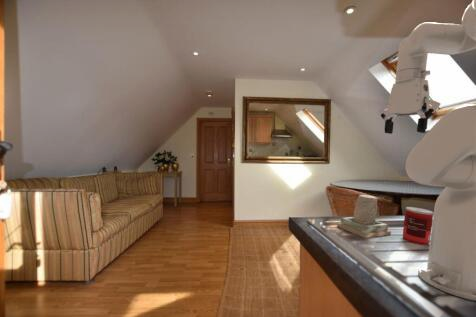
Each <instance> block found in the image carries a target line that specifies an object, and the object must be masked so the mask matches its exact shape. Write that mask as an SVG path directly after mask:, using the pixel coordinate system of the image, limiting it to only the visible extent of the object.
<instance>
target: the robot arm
mask: <svg viewBox="0 0 476 317" xmlns="http://www.w3.org/2000/svg"><path fill="white" fill-rule="evenodd" d="M473 50H476V0H472V2H471V3H470V4H469V5H468V6H467V8H465V10H464V12H463V14H462V18H461V24H455V23H442V22H441V23H439V22H423V23H420V24H419V25H417V26H416V27H415V28H414V29H413V30H412V31H411V33H410V34H409V35H408V36H407V37H405V38H403V39H402V40H401V41H400V42H399V47H398V54H397V55H398V56H397V64H396V73H395V80H394V81H395V82H394V83H393V85H392V87H391V90H390V93H389V98H388V103H386V105H384V106H382V107H381V108H379V109H378V112H379V114H380V118H382V120H383V121H384V133H385V134H389V135H391V134H393V132H394V119H396V117H404V116H419V117H420V118H418V119H417V127H416V132H417V133H420V134H424V136H423V137H422V138H421V139H420V140H419V141H418V142H417V144H416V145H415V146H414V147H413V148H412V149H411V151H410V152H409V154H408V156H407V158H406V161H405V171H406V172H405V173H406V174H407V176H408V177H409V178H410V179H411V181H413V182H415V183H417V184H420V185H423V186H432V187H439V188H440V187H442V188H444V189H443V190H442V191H441V193H440V194H439V195H438V196H437V199H436V201H435V203H434V210H433V220H432V228H431V235H430V242H429V250H428V255H427V256H428V258H427V265H424V266H423V265H422V266H420V267H419V268H418V271H417V273H418V276H419V277H420V278H421V279H422V280H423V282H425V283H427V284H428V285H430V286H432V287H434V288H436V289H437V290H438V289H439V290H440V291H443V292H445V293H447V294H450V295H451V296H452V295H453V296H455V297H458V298H463V299H465V300H470V301H475V302H476V103H469V104H463V105H461V106H457V107H455V108H453V109H451V110H450V111H448V112H447V113H445V114H444V115H442V116H441V118H439V120H437V121H436V123H435V124H434V125H433V126H432V127H431V128H430V130H428V131H427V128H428V121H429V120H430V119H431V117H432V116H434V114H436V113H437V110H438V109H439V107H440V106H441V103H440V102H439V101H436V100H432V99H430V87H429V80H428V79H426V77H427V76H430V75H431V70H429V69H428V70H427V63H428V54H433V55H434V54H435V55H436V54H437V55H449V56H450V55H457V54H462V53H465V52H469V51H473ZM386 111H387V112H386ZM426 131H427V133H426Z"/></svg>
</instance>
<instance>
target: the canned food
mask: <svg viewBox="0 0 476 317" xmlns="http://www.w3.org/2000/svg"><path fill="white" fill-rule="evenodd" d="M433 215H434V211H432V210H429V209H425V208H420V207H416V206H415V207H413V206H406V207H405V211H404V219H403V220H404V221H403V230H402V238H403V239H404V240H405V241H407V242H409V243H413V244H415V245H422V246H428V245H430V239H431V231H432V223H433Z"/></svg>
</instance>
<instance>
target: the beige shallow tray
mask: <svg viewBox="0 0 476 317" xmlns="http://www.w3.org/2000/svg"><path fill="white" fill-rule="evenodd" d="M336 226H337V227H338V228H340V229H343V230H345V231H347V232H350V233H352V234H355V235H357V236H360V237H362V238H365V239H366V238H374V237H375V238H376V237H382V236H390V235H391V234H392V231H391V230H389V224H387V223H384V222H381V221H378V220H375V223H374V225H362V224H359V223H357V222H354V216H349V217H348V216H347V217H341V218H340V222H338V223H337V225H336Z"/></svg>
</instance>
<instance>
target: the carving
mask: <svg viewBox="0 0 476 317" xmlns="http://www.w3.org/2000/svg"><path fill="white" fill-rule="evenodd" d="M353 212H354V213H353V217H354V222H357V223H359V224H362V225H374V223H375V221H377V215H378V199H377V197H375V196H373V195H367V194H359V195H358V196H357V198H356V203H355V207H354V211H353Z"/></svg>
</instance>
